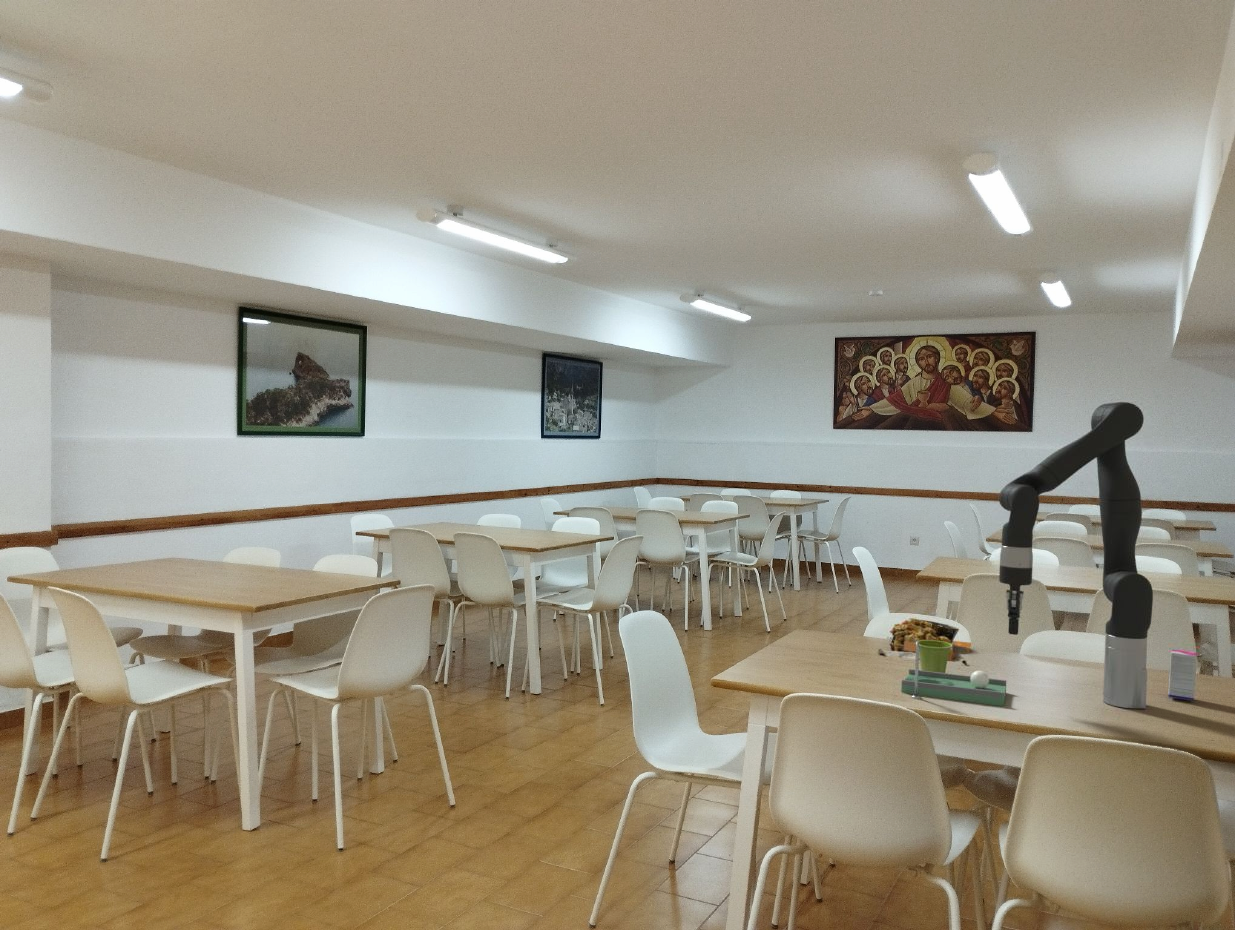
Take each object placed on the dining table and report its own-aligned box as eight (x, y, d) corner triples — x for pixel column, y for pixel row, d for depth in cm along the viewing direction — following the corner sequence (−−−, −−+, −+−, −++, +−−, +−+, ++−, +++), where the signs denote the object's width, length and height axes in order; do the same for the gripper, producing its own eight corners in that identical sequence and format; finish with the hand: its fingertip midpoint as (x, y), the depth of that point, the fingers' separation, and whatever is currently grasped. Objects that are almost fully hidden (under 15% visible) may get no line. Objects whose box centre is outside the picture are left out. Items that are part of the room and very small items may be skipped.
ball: (989, 687, 238) (989, 670, 238) (988, 691, 234) (988, 673, 234) (970, 685, 240) (971, 667, 240) (969, 689, 236) (969, 671, 236)
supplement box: (1195, 700, 238) (1196, 655, 237) (1167, 697, 241) (1169, 652, 240) (1195, 695, 242) (1196, 651, 242) (1168, 692, 246) (1170, 648, 245)
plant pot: (953, 680, 253) (954, 648, 253) (917, 677, 255) (918, 645, 255) (948, 672, 262) (949, 641, 262) (913, 669, 264) (914, 639, 264)
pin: (921, 697, 234) (923, 642, 234) (920, 700, 232) (922, 643, 232) (903, 695, 236) (905, 640, 236) (901, 697, 234) (903, 641, 234)
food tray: (889, 637, 313) (889, 605, 313) (970, 645, 303) (971, 612, 303) (876, 658, 281) (877, 623, 280) (967, 668, 271) (968, 631, 271)
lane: (1006, 692, 241) (1006, 680, 241) (1003, 706, 228) (1003, 693, 228) (908, 680, 251) (909, 668, 251) (901, 693, 238) (901, 680, 238)
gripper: (1032, 568, 226) (1029, 640, 226) (1033, 562, 238) (1030, 631, 238) (998, 566, 229) (995, 636, 229) (1001, 560, 241) (998, 627, 241)
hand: (1013, 633), depth 234 cm, fingers closed
